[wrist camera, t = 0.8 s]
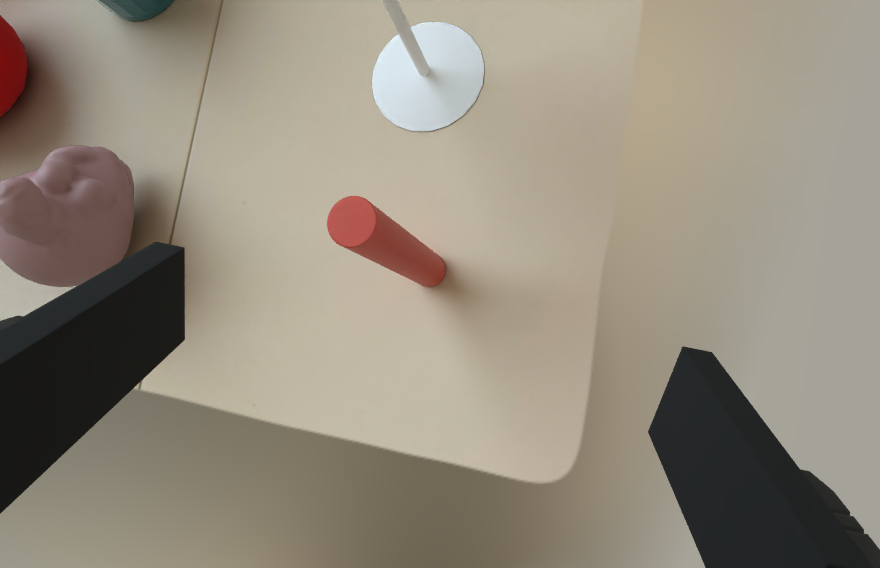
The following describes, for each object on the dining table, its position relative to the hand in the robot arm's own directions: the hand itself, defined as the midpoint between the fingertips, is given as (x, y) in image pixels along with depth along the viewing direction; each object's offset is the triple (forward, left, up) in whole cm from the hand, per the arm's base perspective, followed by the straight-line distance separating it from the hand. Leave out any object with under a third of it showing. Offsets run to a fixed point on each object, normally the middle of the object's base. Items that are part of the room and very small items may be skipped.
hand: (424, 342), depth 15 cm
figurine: (+31, -14, -24) cm, 42 cm away
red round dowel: (+5, -6, -24) cm, 25 cm away
